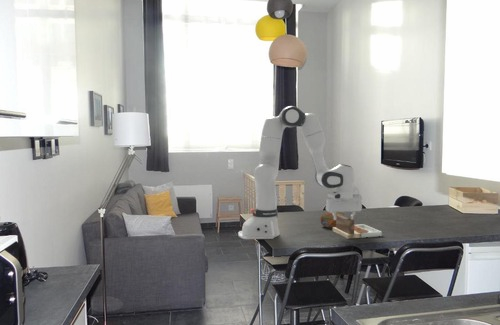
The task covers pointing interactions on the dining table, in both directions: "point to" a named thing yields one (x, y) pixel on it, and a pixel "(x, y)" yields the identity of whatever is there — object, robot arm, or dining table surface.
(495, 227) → the dining table surface
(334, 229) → the board
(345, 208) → the robot arm
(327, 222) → the tin
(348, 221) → the tall tan block
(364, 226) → the tray
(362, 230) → the tile
